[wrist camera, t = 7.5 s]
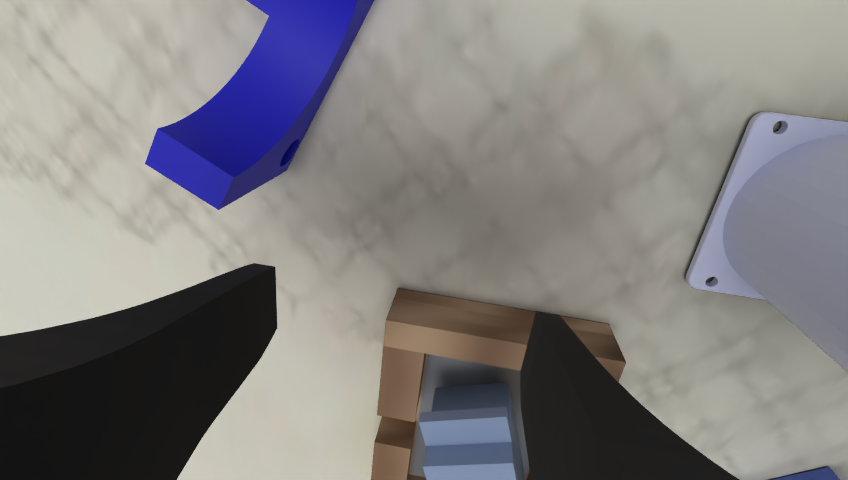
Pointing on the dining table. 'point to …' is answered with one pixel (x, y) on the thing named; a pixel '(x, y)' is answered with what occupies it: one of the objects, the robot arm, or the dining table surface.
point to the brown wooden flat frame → (455, 367)
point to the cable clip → (261, 102)
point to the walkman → (813, 475)
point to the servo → (471, 434)
